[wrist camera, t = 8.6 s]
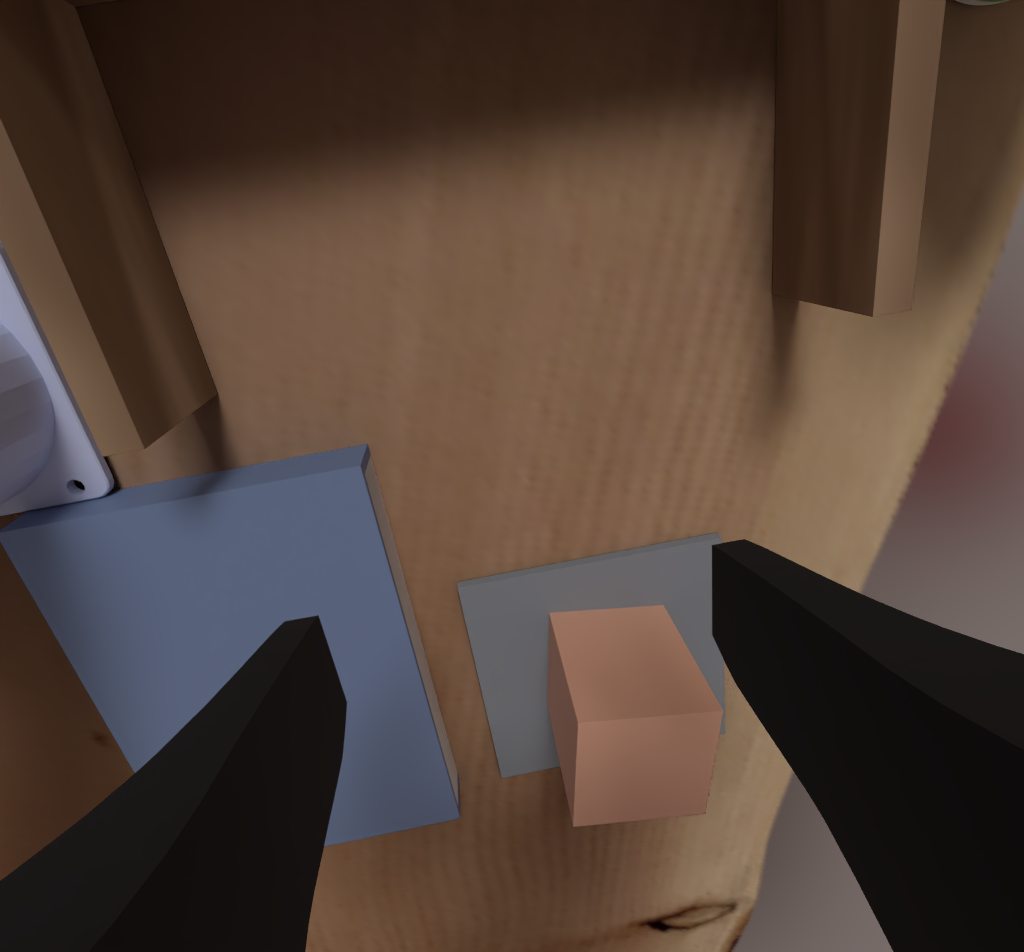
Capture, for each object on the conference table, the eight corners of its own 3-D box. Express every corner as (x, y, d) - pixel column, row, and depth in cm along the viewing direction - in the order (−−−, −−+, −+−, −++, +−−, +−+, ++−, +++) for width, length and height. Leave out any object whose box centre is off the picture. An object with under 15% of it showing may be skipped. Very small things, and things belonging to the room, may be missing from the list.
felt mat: (500, 770, 26) (501, 778, 26) (457, 582, 22) (457, 588, 22) (721, 726, 27) (724, 733, 26) (716, 532, 23) (721, 537, 22)
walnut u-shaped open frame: (186, 399, 19) (102, 456, 14) (14, -38, 14) (-186, -157, 10) (802, 288, 19) (911, 309, 15) (819, -163, 15) (982, -330, 10)
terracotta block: (547, 703, 25) (572, 827, 20) (549, 612, 23) (577, 723, 18) (653, 694, 25) (705, 813, 20) (663, 604, 23) (723, 711, 18)
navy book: (458, 767, 27) (460, 818, 25) (214, 817, 27) (193, 873, 24) (369, 438, 21) (360, 465, 18) (45, 497, 20) (-5, 533, 18)
